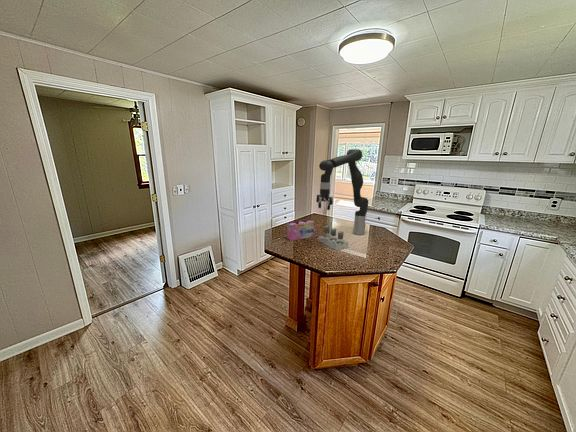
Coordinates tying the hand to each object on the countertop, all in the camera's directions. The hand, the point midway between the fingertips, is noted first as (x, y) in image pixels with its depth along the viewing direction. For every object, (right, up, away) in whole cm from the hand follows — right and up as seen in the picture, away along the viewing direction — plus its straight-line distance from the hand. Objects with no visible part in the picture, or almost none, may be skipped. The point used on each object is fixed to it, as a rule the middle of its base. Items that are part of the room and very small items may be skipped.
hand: (323, 209), depth 180 cm
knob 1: (+4, -19, +10) cm, 22 cm away
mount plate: (+8, -28, +5) cm, 29 cm away
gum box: (-17, -24, +19) cm, 35 cm away
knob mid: (+8, -21, +3) cm, 23 cm away
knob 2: (+12, -23, -4) cm, 26 cm away
